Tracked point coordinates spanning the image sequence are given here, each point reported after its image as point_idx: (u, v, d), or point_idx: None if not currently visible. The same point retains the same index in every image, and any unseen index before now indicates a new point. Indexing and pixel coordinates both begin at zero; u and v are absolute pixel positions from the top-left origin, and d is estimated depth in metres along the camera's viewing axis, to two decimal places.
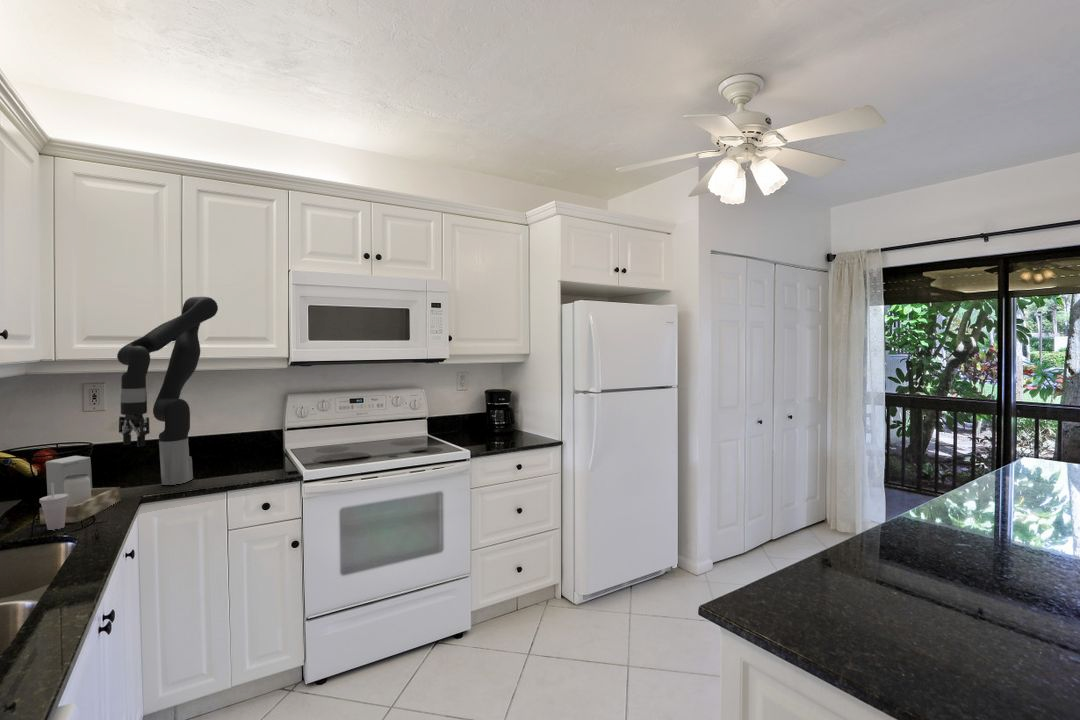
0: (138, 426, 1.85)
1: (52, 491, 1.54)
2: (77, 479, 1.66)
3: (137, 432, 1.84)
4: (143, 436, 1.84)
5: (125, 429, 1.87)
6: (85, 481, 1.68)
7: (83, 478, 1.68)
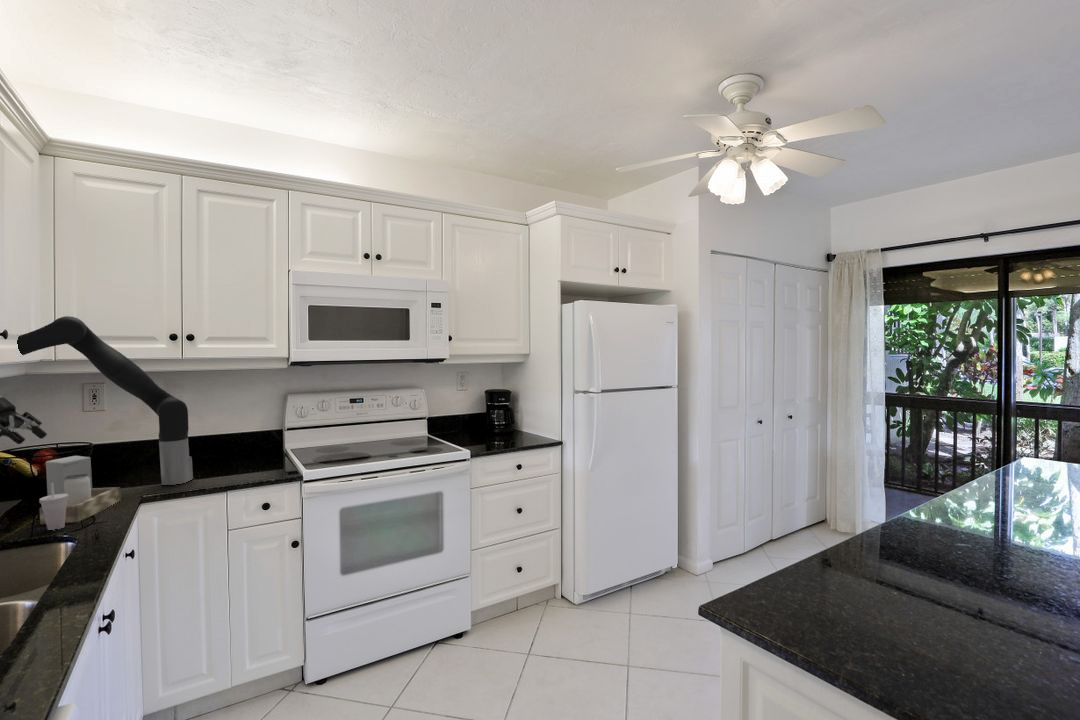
0: None
1: (52, 491, 1.54)
2: (77, 479, 1.66)
3: None
4: (10, 434, 1.60)
5: (23, 428, 1.68)
6: (85, 481, 1.68)
7: (83, 478, 1.68)
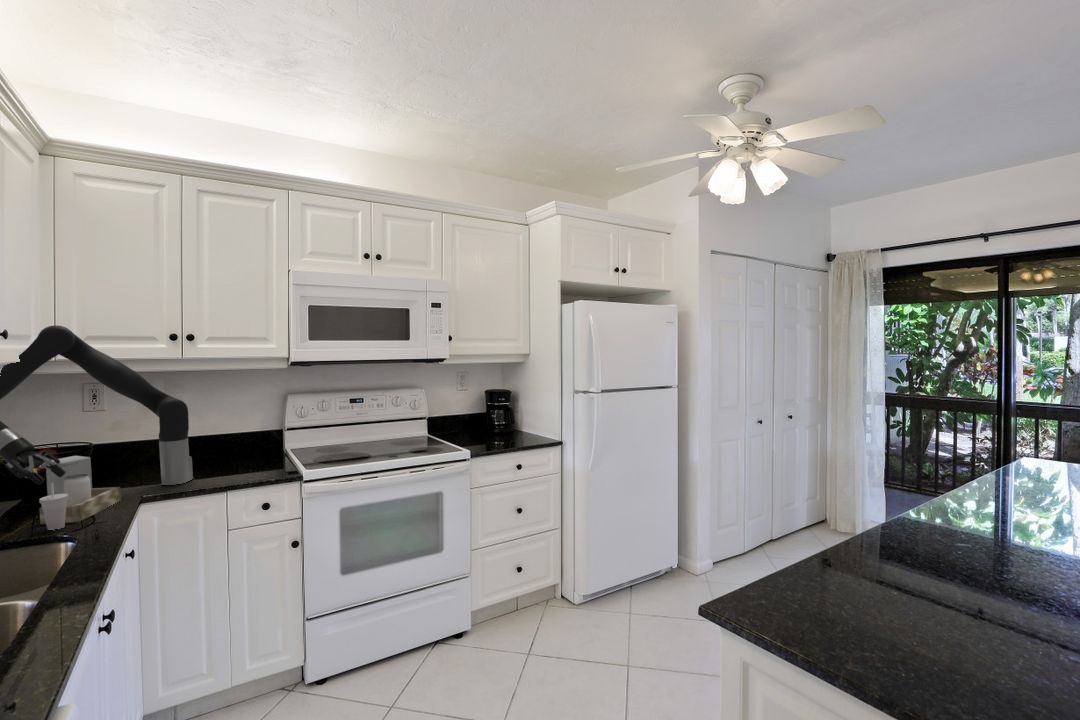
0: None
1: (52, 491, 1.54)
2: (77, 479, 1.66)
3: None
4: (30, 475, 1.62)
5: (42, 467, 1.69)
6: (85, 481, 1.68)
7: (83, 478, 1.68)
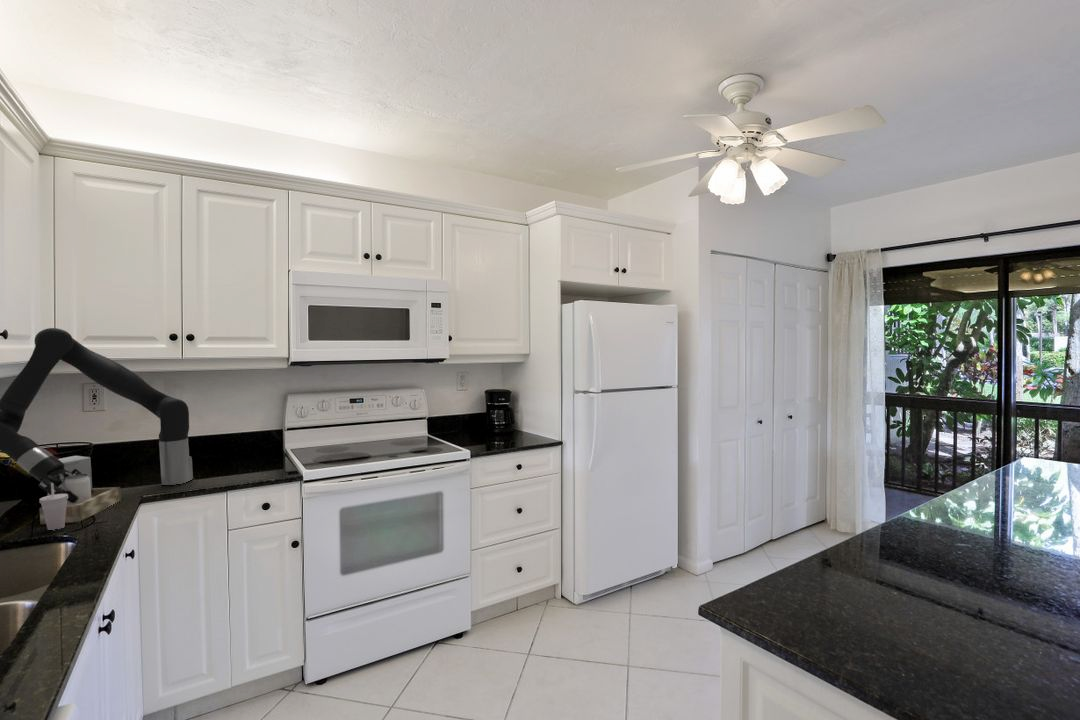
0: None
1: (52, 491, 1.54)
2: (77, 479, 1.66)
3: None
4: None
5: None
6: (85, 481, 1.68)
7: (83, 478, 1.68)
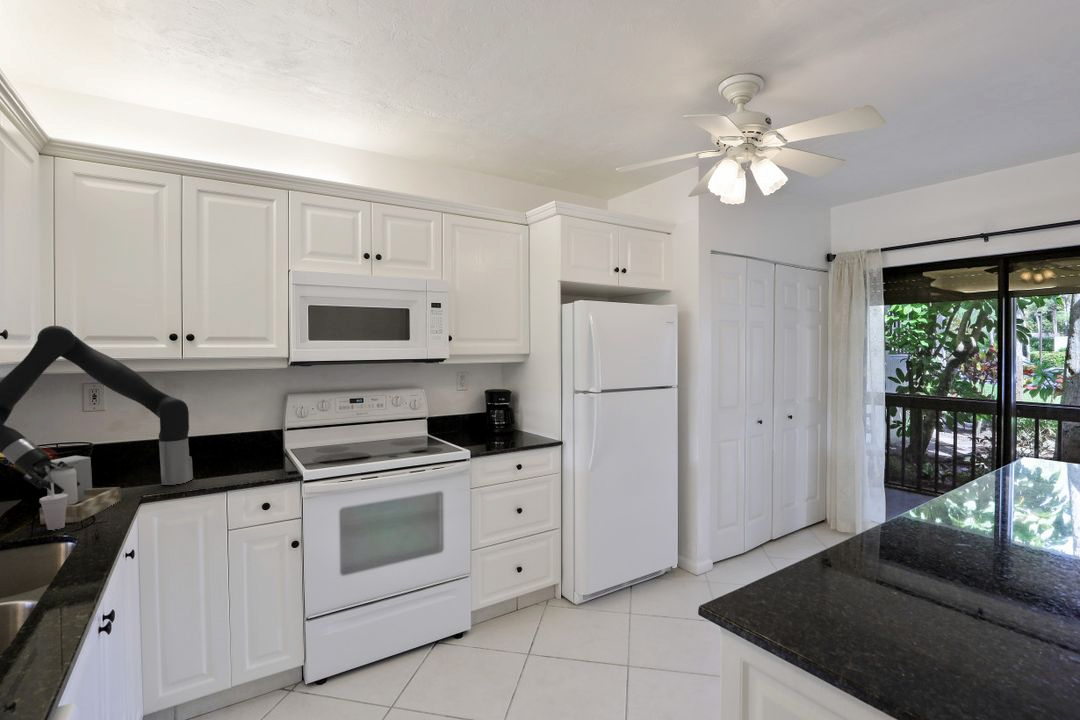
0: (45, 476, 1.65)
1: (52, 491, 1.54)
2: (63, 471, 1.66)
3: None
4: (49, 486, 1.63)
5: None
6: (71, 473, 1.67)
7: (69, 470, 1.67)
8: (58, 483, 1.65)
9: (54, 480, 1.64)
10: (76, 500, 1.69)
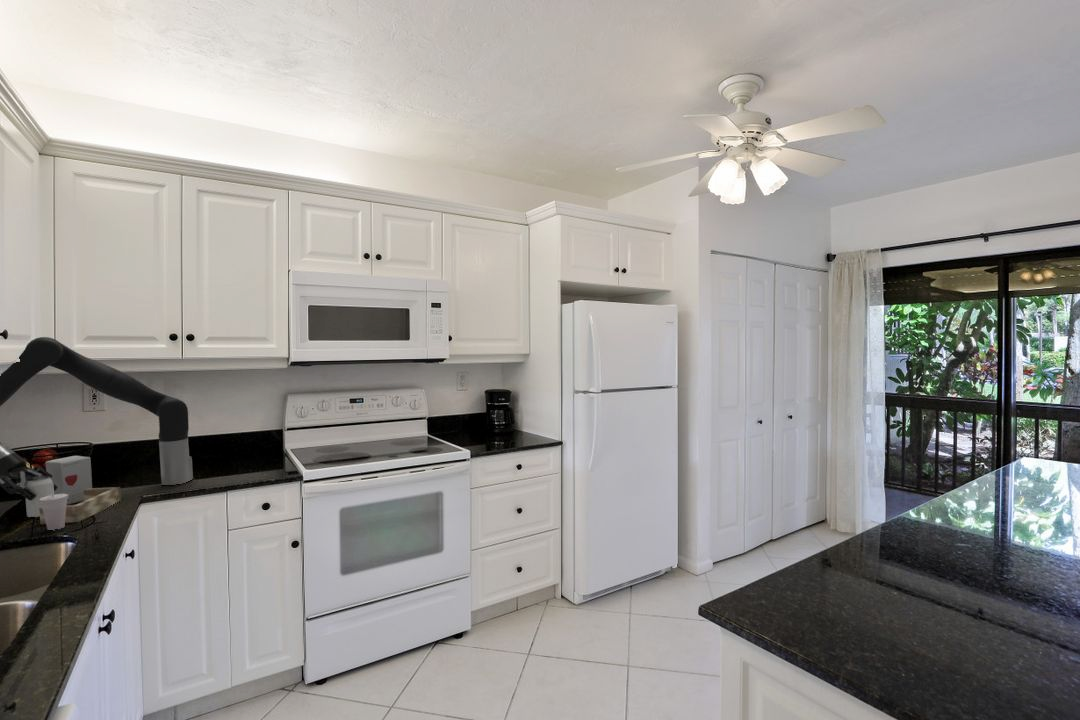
0: None
1: (52, 491, 1.54)
2: (38, 481, 1.65)
3: None
4: (21, 491, 1.61)
5: None
6: (47, 483, 1.66)
7: (45, 480, 1.66)
8: None
9: None
10: None
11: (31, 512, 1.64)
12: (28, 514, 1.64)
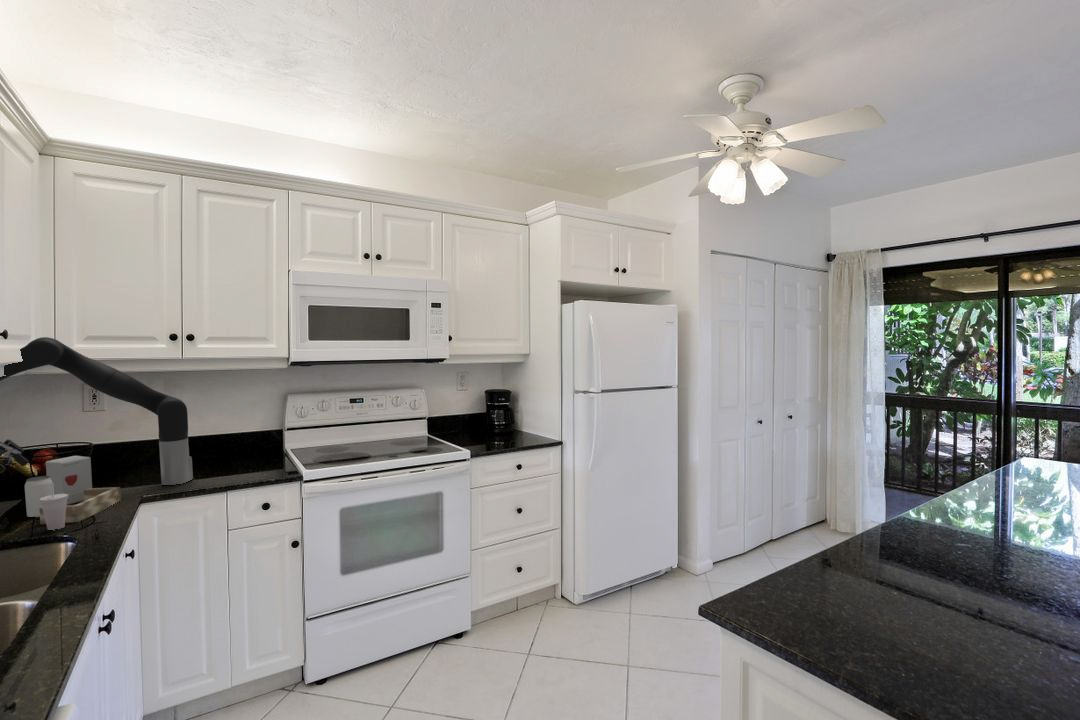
0: None
1: (52, 491, 1.54)
2: (38, 481, 1.65)
3: None
4: None
5: (4, 456, 1.68)
6: (46, 483, 1.66)
7: (44, 480, 1.66)
8: (33, 493, 1.64)
9: (29, 490, 1.64)
10: None
11: (31, 512, 1.64)
12: (28, 514, 1.64)
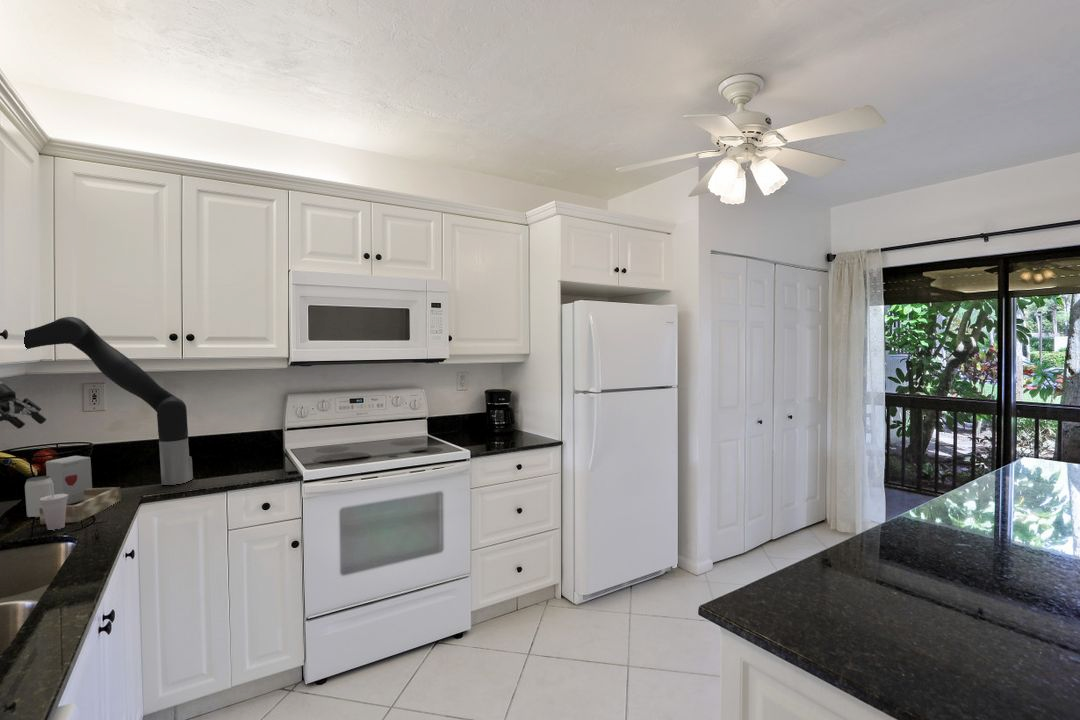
0: None
1: (52, 491, 1.54)
2: (38, 481, 1.65)
3: None
4: (10, 419, 1.66)
5: (23, 413, 1.74)
6: (47, 483, 1.66)
7: (45, 480, 1.66)
8: (34, 493, 1.64)
9: (29, 490, 1.64)
10: None
11: (31, 512, 1.64)
12: (28, 514, 1.64)
